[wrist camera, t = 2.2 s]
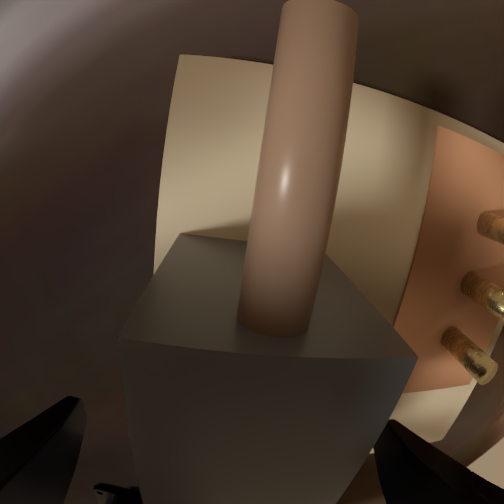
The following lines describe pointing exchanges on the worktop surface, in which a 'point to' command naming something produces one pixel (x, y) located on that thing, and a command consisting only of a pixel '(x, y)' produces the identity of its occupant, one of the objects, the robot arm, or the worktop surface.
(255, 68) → the birch board
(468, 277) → the header pins
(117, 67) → the worktop surface
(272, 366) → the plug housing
